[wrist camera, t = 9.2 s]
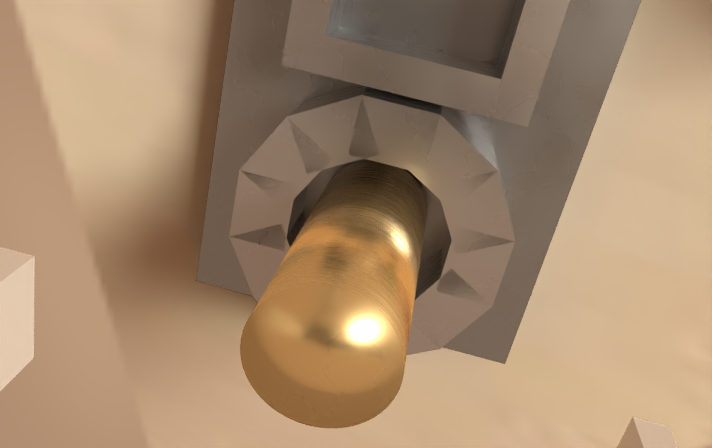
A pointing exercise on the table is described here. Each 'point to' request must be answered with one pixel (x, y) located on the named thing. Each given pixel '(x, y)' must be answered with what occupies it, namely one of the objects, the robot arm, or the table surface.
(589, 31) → the jig
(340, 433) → the table surface
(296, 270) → the brass cylinder peg
